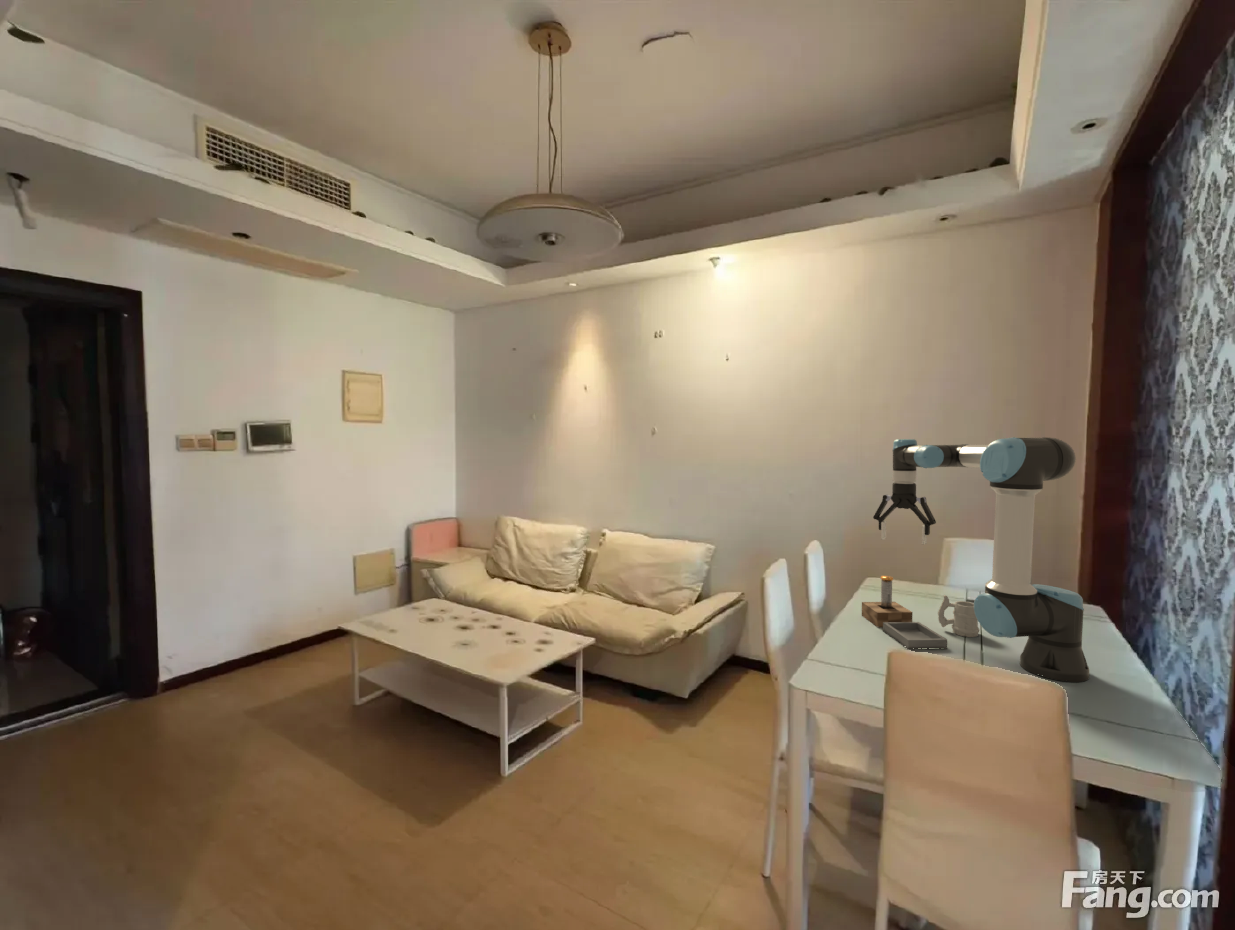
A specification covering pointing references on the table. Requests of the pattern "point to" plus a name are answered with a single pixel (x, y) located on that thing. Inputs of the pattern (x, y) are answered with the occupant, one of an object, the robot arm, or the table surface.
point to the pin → (886, 592)
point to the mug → (960, 618)
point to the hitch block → (885, 613)
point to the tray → (914, 635)
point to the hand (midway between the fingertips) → (903, 541)
